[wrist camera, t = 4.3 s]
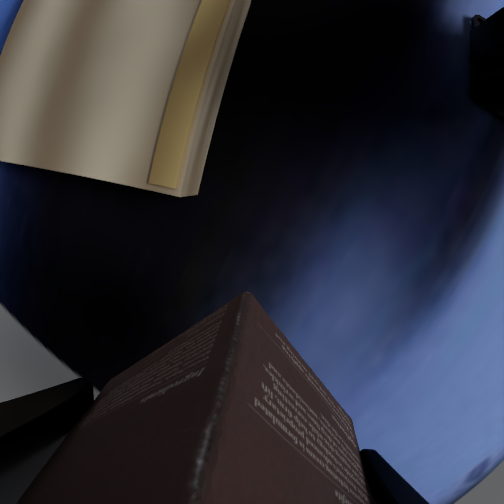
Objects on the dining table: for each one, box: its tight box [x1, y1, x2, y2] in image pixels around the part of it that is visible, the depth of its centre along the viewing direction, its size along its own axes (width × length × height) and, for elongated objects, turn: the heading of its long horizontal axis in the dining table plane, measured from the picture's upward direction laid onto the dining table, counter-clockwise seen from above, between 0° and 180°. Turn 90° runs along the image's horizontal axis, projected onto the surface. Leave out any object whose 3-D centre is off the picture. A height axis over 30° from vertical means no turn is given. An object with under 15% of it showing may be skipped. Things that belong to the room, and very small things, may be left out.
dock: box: [0, 0, 251, 197], centre depth 13 cm, size 14×11×3 cm
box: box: [17, 292, 374, 504], centre depth 6 cm, size 6×6×7 cm
